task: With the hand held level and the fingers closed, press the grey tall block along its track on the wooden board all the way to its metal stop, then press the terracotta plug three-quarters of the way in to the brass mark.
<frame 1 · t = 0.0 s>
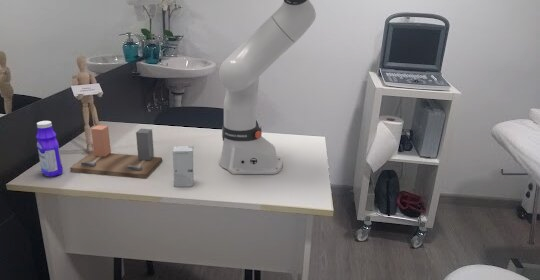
hand: (147, 19, 131), 48 cm above the table, tool pointing down, fingers open, 8 cm apart
bottle: (52, 173, 132), on the table
wooden board: (118, 166, 139), on the table
grey tall block: (145, 144, 140), point 7 cm above the table, slide at 0.0 cm
plug terracotta: (101, 140, 142), point 7 cm above the table, slide at 0.0 cm
skincare box: (184, 184, 129), on the table
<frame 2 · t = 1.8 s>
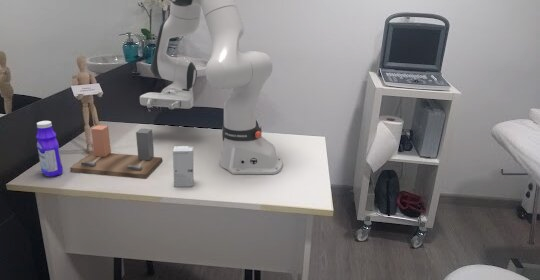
hand: (159, 106, 151), 16 cm above the table, tool horizontal, fingers open, 7 cm apart
nothing on the table moved.
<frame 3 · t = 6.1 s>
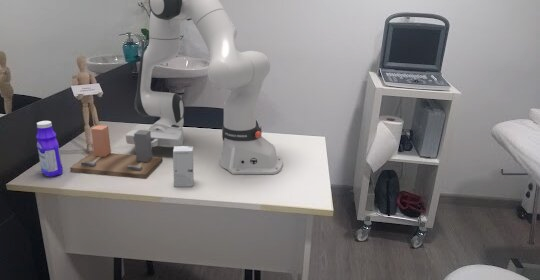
hand: (146, 146, 141), 6 cm above the table, tool horizontal, fingers closed, pressing on grey tall block
grey tall block: (143, 146, 139), point 7 cm above the table, slide at 1.5 cm, touching gripper
everything else where it was.
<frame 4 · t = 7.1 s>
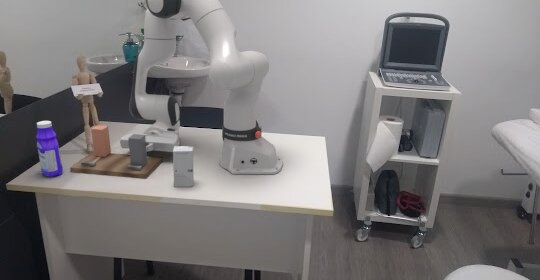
hand: (141, 150, 137), 6 cm above the table, tool horizontal, fingers closed, pressing on grey tall block
grey tall block: (138, 150, 135), point 7 cm above the table, slide at 5.7 cm, touching gripper
everything else where it was.
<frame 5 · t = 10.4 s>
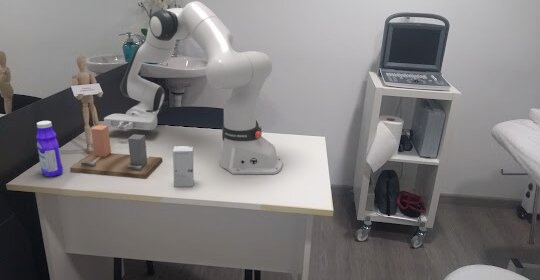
hand: (121, 128, 156), 6 cm above the table, tool horizontal, fingers closed
grey tall block: (137, 150, 135), point 7 cm above the table, slide at 5.9 cm
everything else where it was.
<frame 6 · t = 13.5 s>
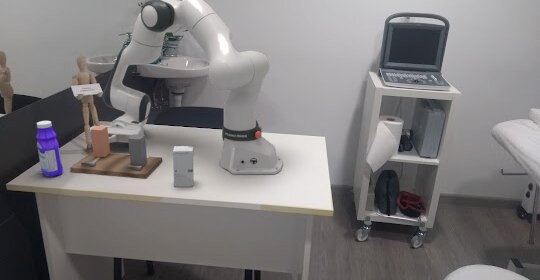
hand: (103, 141, 144), 6 cm above the table, tool horizontal, fingers closed, pressing on plug terracotta
plug terracotta: (100, 141, 141), point 7 cm above the table, slide at 0.6 cm, touching gripper
everything else where it was.
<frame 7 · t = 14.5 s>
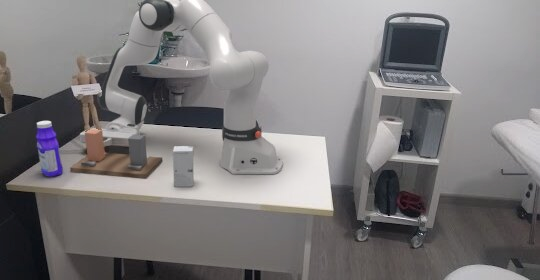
hand: (98, 145, 140), 6 cm above the table, tool horizontal, fingers closed, pressing on plug terracotta
plug terracotta: (95, 145, 138), point 7 cm above the table, slide at 4.1 cm, touching gripper
everything else where it was.
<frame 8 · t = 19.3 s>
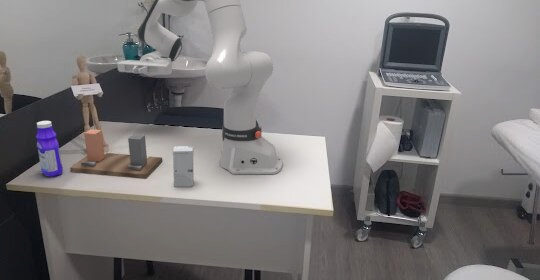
hand: (136, 71, 151), 28 cm above the table, tool horizontal, fingers closed
plug terracotta: (94, 145, 138), point 7 cm above the table, slide at 4.4 cm
everything else where it was.
at the end: grey tall block slide at 5.9 cm; plug terracotta slide at 4.4 cm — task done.
